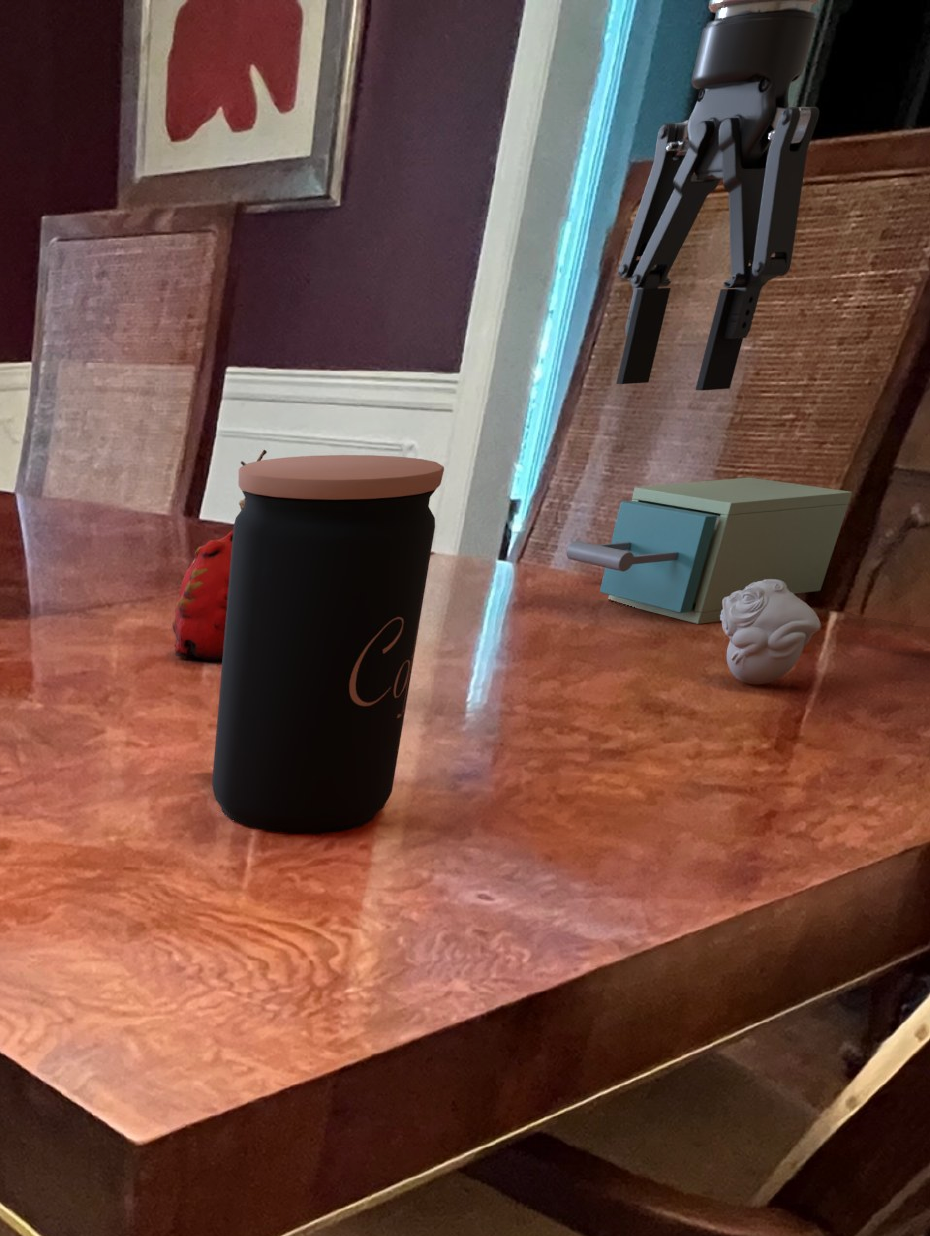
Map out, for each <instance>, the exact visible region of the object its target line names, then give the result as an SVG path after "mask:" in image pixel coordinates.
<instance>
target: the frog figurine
mask: <svg viewBox="0 0 930 1236" xmlns="http://www.w3.org/2000/svg"><path fill="white" fill-rule="evenodd" d="M722 604H723V610H722V611H721V615H720V620H721V621H720V622H721V626H722V631H723V633H724V634H725V635H726V636H727V638H729V642H728V645H727V648H726V662H727V667H728V669H729V671H730V673H732V675H733V676H734V677H735V678H736V679H737V680H739V681H741V682H743V683H745V684H748V685H765V684H768V683H772V682H774V681H777V680H779V679H781V678H782V677H784V676H785V675H786V674H788V673H789V672H790V671H791V670H792V669H793V668H794V666H795V665H796V664H797V662H798V661H799V659H800V657H801V655H802V653H803V649H804V647H805V646H806V645H807V644H808V643H809V641H810V640H811V638H812V636H813V635H814V634H815V633H817V632H818V631H820V629H821V621H820V618H819V617H818V614H817V613H816V611H814V609H813V608H812V607H811V606H809V605H808V603H806V601H803V600H802V599H801V598H799V597H798V596H797V595H795V594H793V593H792V592H789V590H788V589H787V585H786V584H785V583H784V582H783V581H780V580H775V579H765V580H762V581H758V582H754V583H751V584H749V585H748V586H746V587H745V588H744V590H743V591H742V590H739V591H736V592H733V593H732V594H731V595H730V596H727V597H725V598H724V599H723V601H722Z"/></svg>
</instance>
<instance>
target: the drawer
mask: <svg viewBox="0 0 930 1236" xmlns="http://www.w3.org/2000/svg"><path fill="white" fill-rule="evenodd" d="M720 515H721V514H718V513H712V512H707V511H701V510H695V509H689V508H683V507H678V506H672V505H666V504H660V503H653V504H647V503H641V502H636V501H632V500H625V501H624V500H623V501H620V504H619V508H618V513H617V517H616V521H615V525H614V529H613V534H612V538H611V542H610V543H600V544H595V543H591V542H587V541H586V542H585V541H580V540H573V541H572V542H571V543H569V545H568V547H567V548H566V558H568V559H569V560H571V561H574V562H575V561H576V562H580V563H584V564H589V565H593V566H598V567H601V568H604V572H603V576H602V580H601V585H600V588H599V593H601V594H605V595H608V596H609V595H613V596H616V597H620V598H624V599H628V600H632V601H636V602H640V603H644V604H648V605H652V606H656V607H660V608H664V609H667V610H671V611H675V612H679V613H682V612H691V610H692V606H693V603H696V602H697V598H698V595H699V591H700V587H701V584H702V580H703V576H704V573H705V569H706V565H707V562H708V558H709V555H710V551H711V547H712V544H713V540H714V536H715V533H716V529H717V525H718V522H719V518H720Z"/></svg>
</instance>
